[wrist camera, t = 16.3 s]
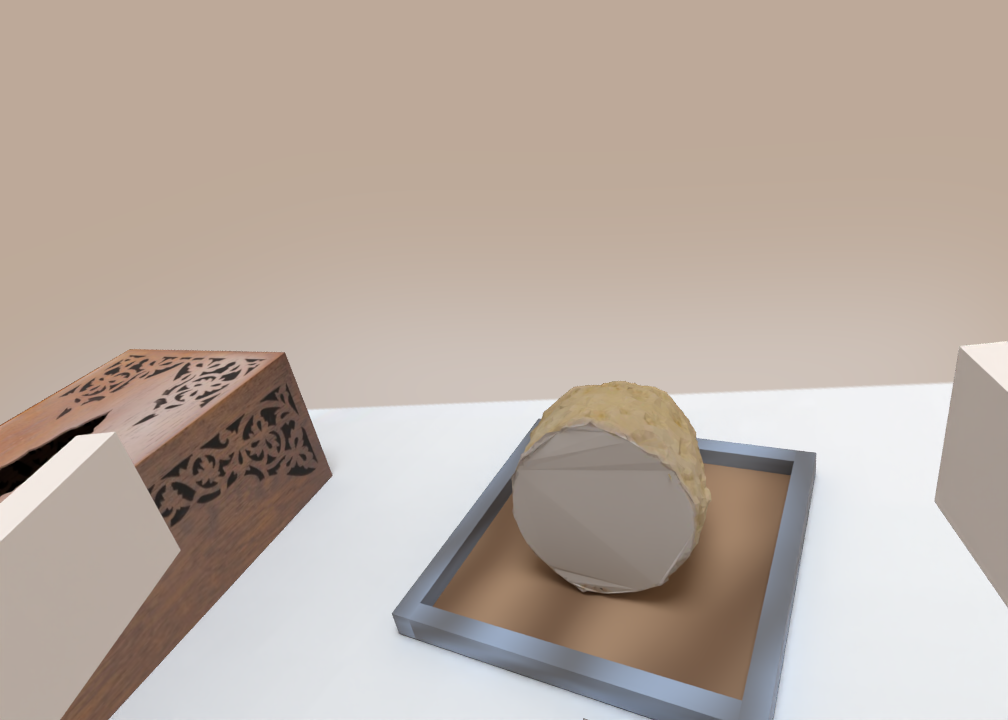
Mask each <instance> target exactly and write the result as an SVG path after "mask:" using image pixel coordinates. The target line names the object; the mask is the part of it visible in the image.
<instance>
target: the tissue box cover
mask: <svg viewBox="0 0 1008 720" xmlns="http://www.w3.org/2000/svg"><path fill="white" fill-rule="evenodd" d="M108 432H116V433H117V435H118V437H119V439H120V441H121V443H122V444H123V446H124V448H125V450H126V452H127V453H128V455H129V457H130V459H131V461H132V463H133V464H134V466H135V468H136V470H137V472H138V473H139V475H140V477H141V479H142V481H143V483H144V484H145V486H146V488H147V490H148V492H149V493H150V495H151V497H152V499H153V501H154V503H155V504H156V506H157V508H158V510H159V512H160V514H161V515H162V517H163V519H164V521H165V523H166V524H167V526H168V528H169V530H170V532H171V534H172V535H173V537H174V539H175V541H176V543H177V544H178V546H179V548H180V550H181V551H180V552H179V553H178V555H177V556H176V558H175V559H174V560H173V562H172V563H171V565H170V566H169V568H168V569H167V570H166V572H165V573H164V575H163V576H162V577H161V579H160V580H159V582H158V583H157V584H156V586H155V587H154V589H153V590H152V591H151V593H150V594H149V596H148V597H147V598H146V600H145V601H144V603H143V604H142V605H141V607H140V608H139V610H138V611H137V612H136V614H135V615H134V617H133V618H132V620H131V621H130V622H129V624H128V625H127V627H126V628H125V629H124V631H123V632H122V634H121V635H120V636H119V638H118V639H117V641H116V642H115V643H114V645H113V646H112V648H111V649H110V650H109V652H108V653H107V655H106V656H105V657H104V659H103V660H102V662H101V663H100V665H99V666H98V667H97V669H96V670H95V672H94V673H93V674H92V676H91V677H90V679H89V680H88V681H87V683H86V684H85V686H84V687H83V688H82V690H81V691H80V693H79V694H78V695H77V697H76V698H75V700H74V701H73V702H72V704H71V705H70V707H69V708H68V709H67V711H66V712H65V714H64V715H63V717H62V718H61V719H60V720H108V719H109V718H110V717H111V716H112V715H113V714H114V713H115V712H116V711H117V709H118V708H119V707H120V706H121V705H122V704H123V703H124V702H125V701H126V700H127V699H128V698H129V696H130V695H131V694H132V693H133V692H134V691H135V690H136V689H137V688H138V687H139V686H140V684H141V683H142V682H143V681H144V680H145V679H146V678H147V677H148V676H149V675H150V674H151V673H152V671H153V670H154V669H155V668H156V667H157V666H158V665H159V664H160V663H161V662H162V661H163V659H164V658H165V657H166V656H167V655H168V654H169V653H170V652H171V651H172V650H173V649H174V647H175V646H176V645H177V644H178V643H179V642H180V641H181V640H182V639H183V638H184V637H185V636H186V634H187V633H188V632H189V631H190V630H191V629H192V628H193V627H194V626H195V625H196V624H197V622H198V621H199V620H200V619H201V618H202V617H203V616H204V615H205V614H206V613H207V612H208V610H209V609H210V608H211V607H212V606H213V605H214V604H215V603H216V602H217V601H218V600H219V599H220V597H221V596H222V595H223V594H224V593H225V592H226V591H227V590H228V589H229V588H230V587H231V585H232V584H233V583H234V582H235V581H236V580H237V579H238V578H239V577H240V576H241V575H242V574H243V572H244V571H245V570H246V569H247V568H248V567H249V566H250V565H251V564H252V563H253V562H254V560H255V559H256V558H257V557H258V556H259V555H260V554H261V553H262V552H263V551H264V550H265V548H266V547H267V546H268V545H269V544H270V543H271V542H272V541H273V540H274V539H275V538H276V537H277V535H278V534H279V533H280V532H281V531H282V530H283V529H284V528H285V527H286V526H287V525H288V523H289V522H290V521H291V520H292V519H293V518H294V517H295V516H296V515H297V514H298V513H299V512H300V510H301V509H302V508H303V507H304V506H305V505H306V504H307V503H308V502H309V501H310V500H311V498H312V497H313V496H314V495H315V494H316V493H317V492H318V491H319V490H320V489H321V488H322V486H323V485H324V484H325V483H326V482H327V481H328V480H329V479H330V478H331V477H332V473H331V470H330V468H329V465H328V463H327V460H326V457H325V455H324V452H323V450H322V447H321V445H320V442H319V439H318V437H317V434H316V432H315V429H314V426H313V424H312V421H311V419H310V416H309V413H308V411H307V408H306V406H305V403H304V401H303V398H302V395H301V393H300V391H299V388H298V385H297V382H296V380H295V377H294V375H293V372H292V369H291V367H290V364H289V362H288V359H287V357H286V354H285V352H240V351H194V350H192V351H191V350H190V351H189V350H146V349H130V350H128V351H126V352H124V353H123V354H121V355H119V356H118V357H116V358H114V359H112V360H111V361H109V362H108V363H106V364H104V365H102V366H101V367H99V368H97V369H95V370H94V371H92V372H90V373H89V374H87V375H85V376H83V377H82V378H80V379H78V380H77V381H75V382H73V383H71V384H70V385H68V386H66V387H65V388H63V389H61V390H60V391H58V392H56V393H54V394H53V395H51V396H49V397H48V398H46V399H44V400H42V401H41V402H39V403H37V404H36V405H34V406H32V407H30V408H29V409H27V410H25V411H24V412H22V413H20V414H18V415H17V416H15V417H13V418H12V419H10V420H8V421H7V422H5V423H3V424H2V425H0V503H1V502H2V501H4V500H5V499H6V498H7V497H8V496H9V495H10V494H11V493H13V492H14V491H15V490H16V489H17V488H18V487H19V486H20V485H22V484H23V483H24V482H25V481H26V480H27V479H28V478H29V477H31V476H32V475H33V474H34V473H35V472H36V471H37V470H38V469H40V468H41V467H42V466H43V465H44V464H45V463H46V462H48V461H49V460H50V459H51V458H52V457H53V456H54V455H55V454H57V453H58V452H59V451H60V450H61V449H62V448H63V447H64V446H66V445H67V444H68V443H69V442H70V441H71V440H72V439H73V438H75V437H76V436H78V435H88V434H98V433H108Z"/></svg>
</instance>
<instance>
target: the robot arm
mask: <svg viewBox="0 0 1008 720" xmlns="http://www.w3.org/2000/svg"><path fill="white" fill-rule="evenodd" d="M935 503H936V504H937V506H938V507H939V509H940V510H941V512H942V513H943V515H944V516H945V517H946V519H947V520H948V522H949V523H950V525H951V526H952V528H953V529H954V530H955V532H956V533H957V535H958V536H959V538H960V539H961V541H962V542H963V543H964V545H965V546H966V548H967V549H968V551H969V552H970V554H971V555H972V557H973V558H974V559H975V561H976V562H977V564H978V565H979V567H980V568H981V570H982V571H983V572H984V574H985V575H986V577H987V578H988V580H989V581H990V583H991V584H992V586H993V587H994V588H995V590H996V591H997V593H998V594H999V596H1000V597H1001V599H1002V600H1003V601H1004V603H1005V604H1006V606H1007V607H1008V341H1006V342H995V343H985V344H976V345H966V346H959V351H958V358H957V364H956V370H955V377H954V383H953V389H952V395H951V401H950V407H949V414H948V420H947V426H946V432H945V439H944V445H943V451H942V457H941V463H940V470H939V476H938V482H937V488H936V494H935ZM180 551H181V550H180V548H179V546H178V544H177V543H176V541H175V539H174V537H173V535H172V534H171V532H170V530H169V528H168V526H167V524H166V523H165V521H164V519H163V517H162V515H161V514H160V512H159V510H158V508H157V506H156V504H155V503H154V501H153V499H152V497H151V495H150V493H149V492H148V490H147V488H146V486H145V484H144V483H143V481H142V479H141V477H140V475H139V473H138V472H137V470H136V468H135V466H134V464H133V463H132V461H131V459H130V457H129V455H128V453H127V452H126V450H125V448H124V446H123V444H122V443H121V441H120V439H119V437H118V435H117V433H116V432H108V433H98V434H88V435H78V436H76V437H75V438H73V439H72V440H71V441H70V442H69V443H68V444H67V445H66V446H64V447H63V448H62V449H61V450H60V451H59V452H58V453H57V454H55V455H54V456H53V457H52V458H51V459H50V460H49V461H48V462H46V463H45V464H44V465H43V466H42V467H41V468H40V469H38V470H37V471H36V472H35V473H34V474H33V475H32V476H31V477H29V478H28V479H27V480H26V481H25V482H24V483H23V484H22V485H20V486H19V487H18V488H17V489H16V490H15V491H14V492H13V493H11V494H10V495H9V496H8V497H7V498H6V499H5V500H4V501H2V502H1V503H0V720H60V719H61V718H62V717H63V715H64V714H65V712H66V711H67V709H68V708H69V707H70V705H71V704H72V702H73V701H74V700H75V698H76V697H77V695H78V694H79V693H80V691H81V690H82V688H83V687H84V686H85V684H86V683H87V681H88V680H89V679H90V677H91V676H92V674H93V673H94V672H95V670H96V669H97V667H98V666H99V665H100V663H101V662H102V660H103V659H104V657H105V656H106V655H107V653H108V652H109V650H110V649H111V648H112V646H113V645H114V643H115V642H116V641H117V639H118V638H119V636H120V635H121V634H122V632H123V631H124V629H125V628H126V627H127V625H128V624H129V622H130V621H131V620H132V618H133V617H134V615H135V614H136V612H137V611H138V610H139V608H140V607H141V605H142V604H143V603H144V601H145V600H146V598H147V597H148V596H149V594H150V593H151V591H152V590H153V589H154V587H155V586H156V584H157V583H158V582H159V580H160V579H161V577H162V576H163V575H164V573H165V572H166V570H167V569H168V568H169V566H170V565H171V563H172V562H173V560H174V559H175V558H176V556H177V555H178V553H179V552H180Z"/></svg>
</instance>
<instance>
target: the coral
mask: <svg viewBox="0 0 1008 720" xmlns="http://www.w3.org/2000/svg"><path fill="white" fill-rule="evenodd" d="M511 479H512V492H513V510H512V512H513V515H514V519H515V520H516V521H517V524H518V527H519V530H520V532H521V534H522V536H523V537H524V539H525V541H526V543H527V544H528V545H529V547H530V548H531V549H532V551H533V552H534V554H535V555H536V557H538V558H539V559H541V560H542V561H543V562H545V563H546V564H547V565H548V566H549V567H550V568H551V569H552V570H553V571H555V572H556V573H557V574H559V575H560V576H562V577H563V578H564V579H565V580H567V581H568V582H570V583H571V584H573V585H574V586H576V587H577V588H578V589H579V590H581V591H582V592H586V591H593V592H600V593H607V594H610V593H626V592H638V591H642V590H646V589H649V588H652V587H656V586H661V585H663V584H664V583H665V582H667V581H668V580H669V578H668V577H669V576H670V575H671V574H672V573H674V572H675V571H676V570H677V569H678V568H679V567H680V566H681V565H682V564H683V563H684V562H685V561H686V560H687V559H688V558H689V557H690V555H691V552H692V551H693V549H694V548H695V546H696V545H697V544H698V543H699V537H700V533H701V530H702V528H703V525H704V522H705V519H706V512H707V508H708V505H709V504H710V502H711V501H712V500H711V492H710V490H709V489H708V488H707V487H706V476H705V473H704V464H703V461H702V457H701V454H700V451H699V446H698V441H697V440H696V432H695V430H694V428H693V427H692V425H691V424H690V421H689V419H688V418H687V417H686V416H685V415H684V413H683V412H682V410H681V409H680V408H679V407H678V406H677V405H676V403H675V402H674V401H673V399H672V398H671V397H670V396H669V395H668V394H667V392H665V391H662V390H659V389H658V388H656V387H651V386H640V385H637V384H636V383H632V384H631V383H629V382H626V381H613V382H609V383H603V384H602V385H585V386H577V387H573V388H572V389H570V390H569V391H568V392H567V393H566V394H564V395H563V396H562V397H561V398H559V399H558V400H557V401H556V402H555V403H554V404H553V405H552V406H551V407H549V408H548V409H547V410H546V411H544V413H543V416H542V419H541V421H540V422H539V424H538V426H537V427H536V428H534V429H533V430H532V431H531V433H530V442H529V443H528V445H527V446H526V447H525V451H524V453H522V454H521V457H520V460H519V463H518V466H517V468H516V471H515V472H514V474H513V475H512V477H511Z"/></svg>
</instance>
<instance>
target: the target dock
mask: <svg viewBox="0 0 1008 720" xmlns="http://www.w3.org/2000/svg"><path fill="white" fill-rule="evenodd" d="M540 421H541V419H538V420H537V422H536V423H535V424H534V426H533V427H532V428H531V429H530V431H529V432H528V433H527V435H526V436H525V437H524V439H523V440H522V441H521V443H520V444H519V445H518V447H517V448H516V449H515V451H514V452H513V453H512V455H511V456H510V457H509V459H508V460H507V461H506V463H505V464H504V465H503V467H502V468H501V469H500V471H499V472H498V473H497V475H496V476H495V477H494V479H493V480H492V481H491V483H490V484H489V485H488V487H487V488H486V489H485V491H484V492H483V493H482V495H481V496H480V497H479V499H478V500H477V501H476V503H475V504H474V505H473V507H472V508H471V509H470V510H469V512H468V513H467V514H466V516H465V517H464V518H463V520H462V521H461V522H460V524H459V525H458V526H457V528H456V529H455V530H454V532H453V533H452V534H451V536H450V537H449V538H448V540H447V541H446V542H445V544H444V545H443V546H442V548H441V549H440V550H439V552H438V553H437V554H436V556H435V557H434V558H433V560H432V561H431V562H430V564H429V565H428V566H427V568H426V569H425V570H424V572H423V573H422V574H421V576H420V577H419V578H418V580H417V581H416V582H415V584H414V585H413V586H412V588H411V589H410V590H409V591H408V593H407V594H406V595H405V597H404V598H403V599H402V601H401V602H400V603H399V605H398V606H397V607H396V609H395V610H394V611H393V613H392V615H393V618H394V621H395V623H396V626H397V628H398V631H399V633H400V634H403V635H406V636H408V637H411V638H414V639H417V640H420V641H423V642H426V643H429V644H432V645H435V646H438V647H441V648H444V649H447V650H450V651H453V652H456V653H459V654H462V655H465V656H468V657H471V658H474V659H477V660H480V661H483V662H486V663H488V664H491V665H494V666H497V667H500V668H503V669H506V670H509V671H512V672H515V673H518V674H521V675H524V676H527V677H530V678H533V679H536V680H539V681H542V682H545V683H548V684H551V685H554V686H557V687H560V688H563V689H566V690H568V691H571V692H574V693H577V694H580V695H583V696H586V697H589V698H592V699H595V700H598V701H601V702H604V703H607V704H610V705H613V706H616V707H619V708H622V709H625V710H628V711H631V712H634V713H637V714H640V715H643V716H646V717H648V718H651V719H654V720H773V717H774V711H775V705H776V699H777V693H778V688H779V682H780V676H781V670H782V664H783V659H784V653H785V647H786V641H787V635H788V630H789V624H790V618H791V612H792V607H793V601H794V595H795V589H796V583H797V578H798V572H799V566H800V560H801V554H802V549H803V543H804V537H805V531H806V525H807V520H808V514H809V508H810V502H811V497H812V491H813V485H814V479H815V473H816V453H813V452H805V451H797V450H789V449H781V448H772V447H764V446H756V445H748V444H740V443H732V442H724V441H715V440H707V439H699V438H696V440H697V441H698V446H699V451H700V454H701V457H702V461H703V464H704V473H705V476H706V487H707V488H708V489H709V490H710V492H711V500H712V501H711V502H710V504H709V505H708V508H707V512H706V519H705V522H704V525H703V528H702V530H701V533H700V537H699V543H698V544H697V545H696V546H695V548H694V549H693V551H692V552H691V555H690V557H689V558H688V559H687V560H686V561H685V562H684V563H683V564H682V565H681V566H680V567H679V568H678V569H677V570H676V571H675V572H674V573H672V574H671V575H670V576H669V577H668V578H669V580H668V581H667V582H665V583H664V584H663V585H661V586H656V587H652V588H649V589H646V590H642V591H638V592H626V593H610V594H607V593H600V592H593V591H586V592H582V591H581V590H579V589H578V588H577V587H576V586H574V585H573V584H571V583H570V582H568V581H567V580H565V579H564V578H563V577H562V576H560V575H559V574H557V573H556V572H555V571H553V570H552V569H551V568H550V567H549V566H548V565H547V564H546V563H545V562H543V561H542V560H541V559H539V558H538V557H536V555H535V554H534V552H533V551H532V549H531V548H530V547H529V545H528V544H527V543H526V541H525V539H524V537H523V536H522V534H521V532H520V530H519V527H518V524H517V521H516V520H515V519H514V515H513V512H512V510H513V492H512V479H511V477H512V475H513V474H514V472H515V471H516V468H517V466H518V463H519V460H520V457H521V454H522V453H524V451H525V447H526V446H527V445H528V443H529V442H530V433H531V431H532V430H533V429H534V428H536V427H537V426H538V424H539V422H540Z"/></svg>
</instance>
